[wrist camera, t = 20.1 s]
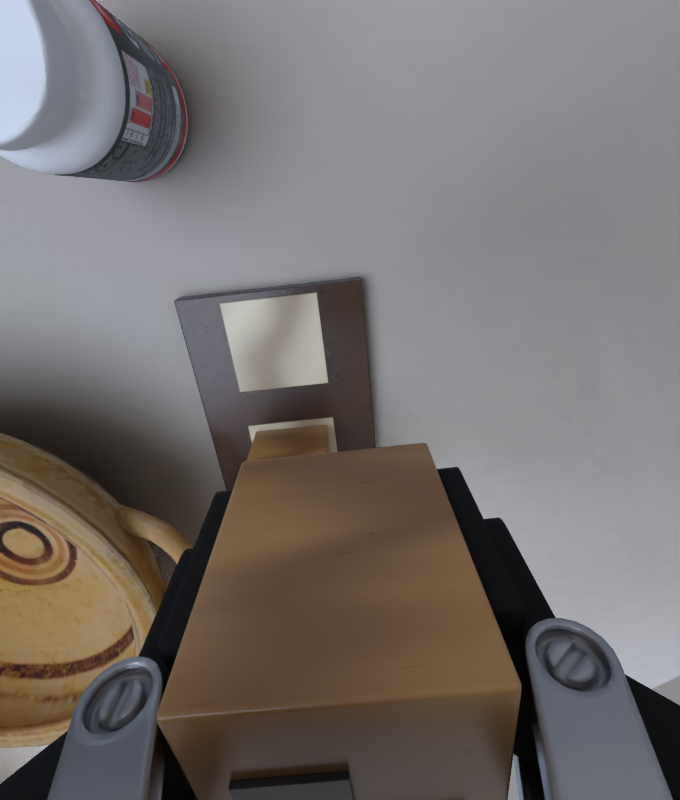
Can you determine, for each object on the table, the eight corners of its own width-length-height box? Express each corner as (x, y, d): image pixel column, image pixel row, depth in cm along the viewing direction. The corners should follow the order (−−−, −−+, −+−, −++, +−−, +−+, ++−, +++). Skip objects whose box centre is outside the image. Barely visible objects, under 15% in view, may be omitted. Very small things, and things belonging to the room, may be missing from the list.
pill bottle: (190, 46, 18) (53, -101, 9) (192, 190, 21) (86, 183, 12) (53, 22, 18) (-226, -154, 9) (72, 172, 20) (-134, 152, 11)
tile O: (327, 423, 26) (325, 480, 20) (335, 482, 27) (335, 547, 22) (255, 431, 26) (236, 489, 21) (268, 489, 28) (254, 555, 22)
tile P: (426, 440, 10) (529, 697, 5) (429, 575, 12) (505, 861, 7) (241, 460, 10) (147, 729, 5) (274, 590, 12) (231, 881, 7)
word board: (360, 276, 23) (361, 279, 22) (384, 560, 32) (385, 570, 31) (178, 297, 23) (173, 301, 22) (253, 572, 32) (251, 582, 31)
